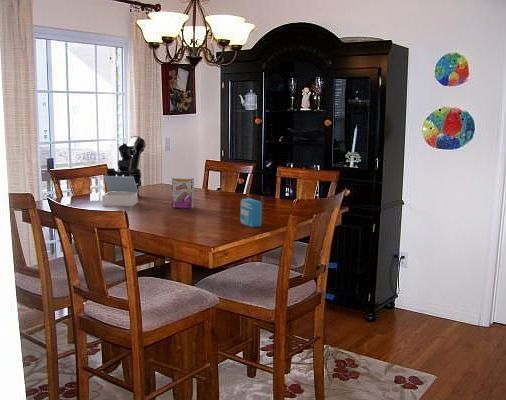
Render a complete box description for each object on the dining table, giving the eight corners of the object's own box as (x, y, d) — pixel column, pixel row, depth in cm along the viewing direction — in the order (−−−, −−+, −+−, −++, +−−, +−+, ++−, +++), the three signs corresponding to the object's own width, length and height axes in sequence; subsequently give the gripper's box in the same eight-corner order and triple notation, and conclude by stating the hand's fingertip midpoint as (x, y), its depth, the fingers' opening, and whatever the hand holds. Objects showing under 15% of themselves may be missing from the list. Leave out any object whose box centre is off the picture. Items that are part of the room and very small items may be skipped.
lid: (109, 191, 301) (109, 190, 301) (137, 192, 301) (138, 190, 301) (103, 177, 289) (103, 175, 290) (133, 177, 289) (133, 176, 290)
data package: (240, 223, 252) (240, 198, 250) (248, 222, 255) (248, 197, 253) (253, 228, 242) (253, 202, 240) (261, 227, 244) (262, 201, 243)
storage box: (109, 201, 302) (109, 191, 301) (137, 202, 302) (137, 192, 301) (102, 206, 288) (102, 195, 287) (131, 206, 288) (131, 195, 287)
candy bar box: (171, 208, 287) (171, 178, 284) (173, 206, 292) (173, 177, 289) (191, 209, 286) (192, 179, 283) (193, 207, 291) (193, 177, 288)
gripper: (107, 154, 299) (101, 176, 290) (139, 154, 299) (135, 176, 290) (111, 166, 308) (106, 187, 299) (143, 167, 308) (139, 188, 299)
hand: (121, 185), depth 297 cm, fingers closed, pressing on lid
